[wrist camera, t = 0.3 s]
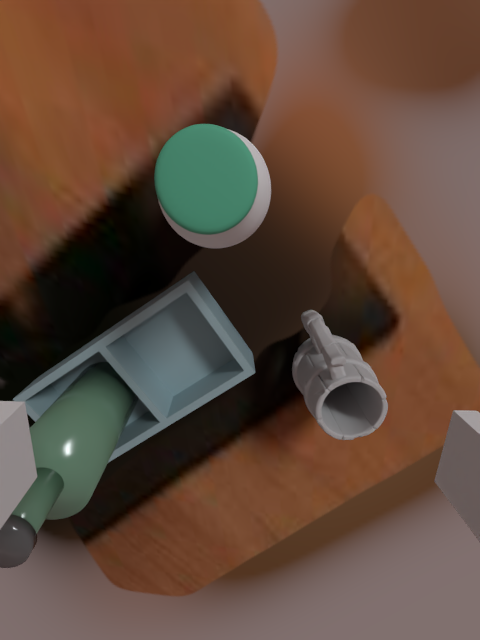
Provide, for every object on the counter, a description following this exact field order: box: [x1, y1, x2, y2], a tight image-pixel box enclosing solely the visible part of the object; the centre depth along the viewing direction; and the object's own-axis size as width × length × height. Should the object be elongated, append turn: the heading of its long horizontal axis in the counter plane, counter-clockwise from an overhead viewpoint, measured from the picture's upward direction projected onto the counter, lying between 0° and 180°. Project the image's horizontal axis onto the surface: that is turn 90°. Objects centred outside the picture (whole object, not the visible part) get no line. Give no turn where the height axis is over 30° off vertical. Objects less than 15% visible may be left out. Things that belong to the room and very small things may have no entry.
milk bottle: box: [154, 124, 271, 248], centre depth 25 cm, size 8×8×20 cm
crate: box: [13, 271, 255, 462], centre depth 37 cm, size 11×21×5 cm, turn 124°
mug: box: [292, 310, 388, 440], centre depth 33 cm, size 8×12×12 cm, turn 22°
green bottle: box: [0, 362, 139, 568], centre depth 30 cm, size 7×7×19 cm
